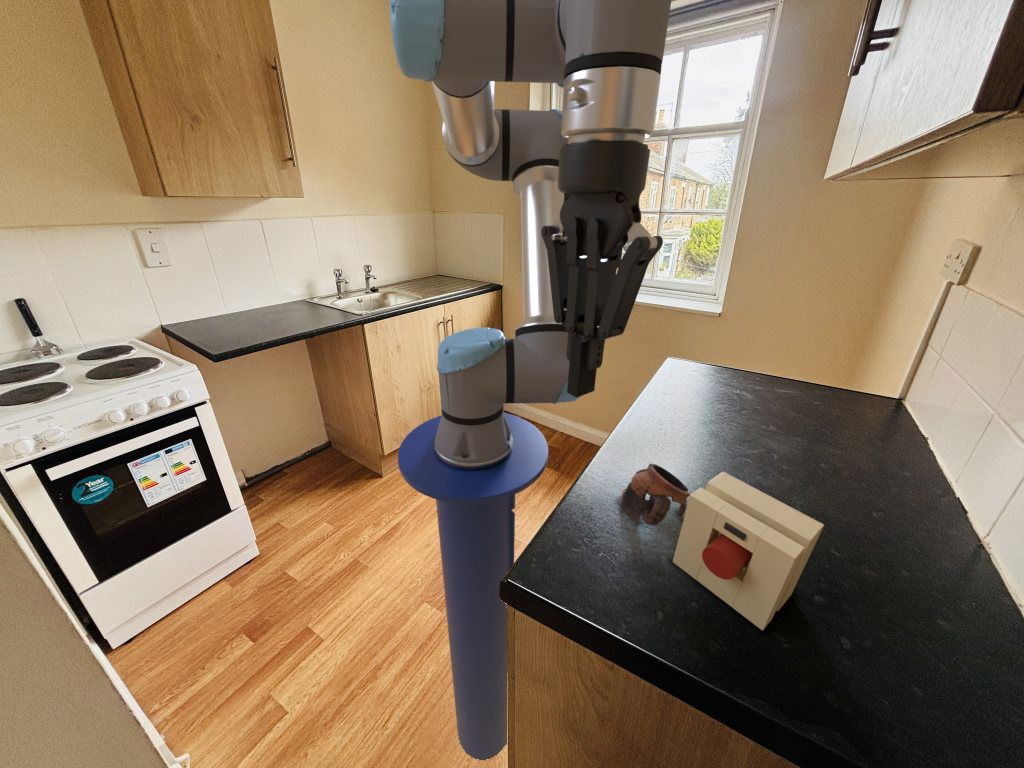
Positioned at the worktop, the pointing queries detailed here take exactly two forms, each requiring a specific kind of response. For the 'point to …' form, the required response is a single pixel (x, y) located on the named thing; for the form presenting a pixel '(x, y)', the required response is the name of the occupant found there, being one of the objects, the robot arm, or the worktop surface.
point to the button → (725, 557)
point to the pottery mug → (653, 495)
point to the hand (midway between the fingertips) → (580, 391)
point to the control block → (747, 545)
